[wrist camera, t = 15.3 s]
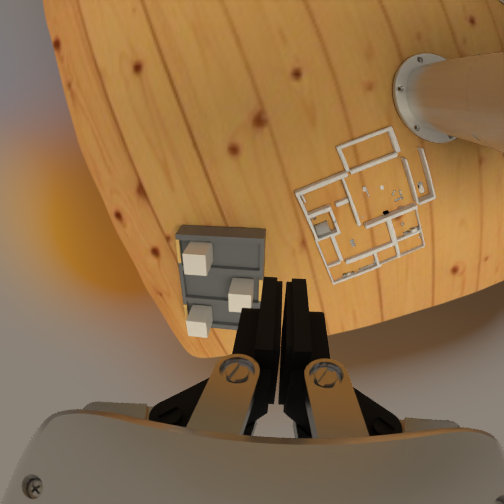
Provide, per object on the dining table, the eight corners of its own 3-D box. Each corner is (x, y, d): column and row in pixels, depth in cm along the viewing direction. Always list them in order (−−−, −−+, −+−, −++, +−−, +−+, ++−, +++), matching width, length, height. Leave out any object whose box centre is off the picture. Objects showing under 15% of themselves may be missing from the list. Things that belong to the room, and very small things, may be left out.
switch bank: (265, 228, 42) (264, 239, 39) (262, 318, 49) (260, 332, 46) (182, 225, 43) (174, 235, 40) (191, 312, 50) (186, 325, 47)
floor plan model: (391, 77, 31) (396, 76, 29) (439, 237, 40) (444, 243, 38) (262, 126, 36) (261, 127, 34) (332, 280, 46) (334, 287, 44)
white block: (253, 278, 43) (250, 295, 39) (253, 296, 44) (250, 313, 41) (232, 277, 43) (228, 293, 39) (233, 294, 44) (228, 311, 41)
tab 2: (211, 306, 46) (205, 322, 42) (212, 320, 47) (207, 337, 44) (192, 304, 46) (185, 320, 42) (194, 319, 47) (188, 335, 44)
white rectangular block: (212, 241, 41) (205, 255, 37) (213, 260, 42) (206, 276, 38) (190, 240, 41) (182, 253, 37) (192, 259, 42) (184, 274, 39)
